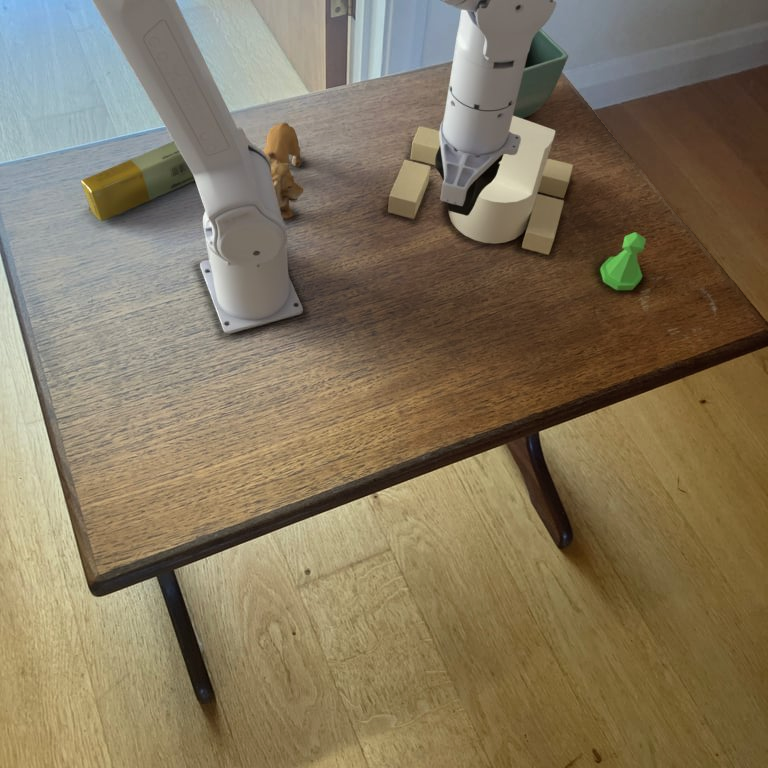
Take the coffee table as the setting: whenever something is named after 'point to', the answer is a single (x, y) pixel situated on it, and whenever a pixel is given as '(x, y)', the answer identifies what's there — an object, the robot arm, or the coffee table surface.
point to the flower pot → (539, 74)
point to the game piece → (624, 264)
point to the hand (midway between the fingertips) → (459, 208)
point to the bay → (417, 177)
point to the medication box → (136, 181)
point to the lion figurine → (283, 165)
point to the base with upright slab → (510, 188)
